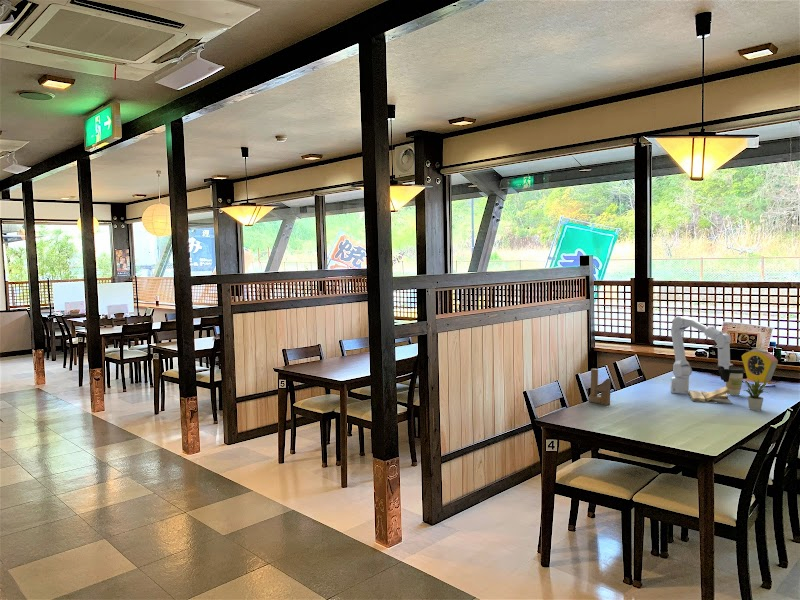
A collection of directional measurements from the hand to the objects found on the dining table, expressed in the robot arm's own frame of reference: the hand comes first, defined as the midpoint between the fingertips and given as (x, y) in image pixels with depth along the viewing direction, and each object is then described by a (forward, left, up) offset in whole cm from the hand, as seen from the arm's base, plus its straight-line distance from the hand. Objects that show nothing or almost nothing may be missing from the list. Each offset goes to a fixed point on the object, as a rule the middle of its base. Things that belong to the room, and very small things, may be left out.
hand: (724, 380), depth 324 cm
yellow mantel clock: (+28, +57, -11) cm, 64 cm away
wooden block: (-64, -26, -11) cm, 70 cm away
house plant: (+13, -16, -11) cm, 23 cm away
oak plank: (-4, -1, -8) cm, 8 cm away
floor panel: (-6, +4, -11) cm, 13 cm away
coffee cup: (+8, +19, -11) cm, 23 cm away
